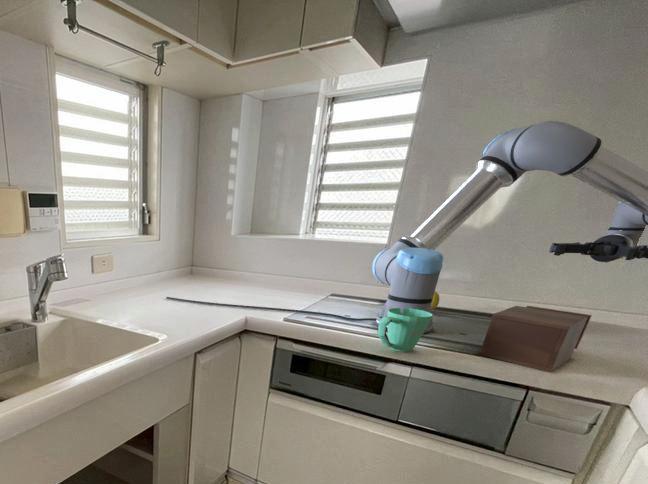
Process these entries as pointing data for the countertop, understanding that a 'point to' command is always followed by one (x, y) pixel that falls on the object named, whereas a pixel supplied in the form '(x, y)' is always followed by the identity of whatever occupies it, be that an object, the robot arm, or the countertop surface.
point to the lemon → (435, 300)
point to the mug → (403, 328)
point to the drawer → (569, 313)
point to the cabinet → (532, 337)
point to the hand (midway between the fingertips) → (591, 252)
